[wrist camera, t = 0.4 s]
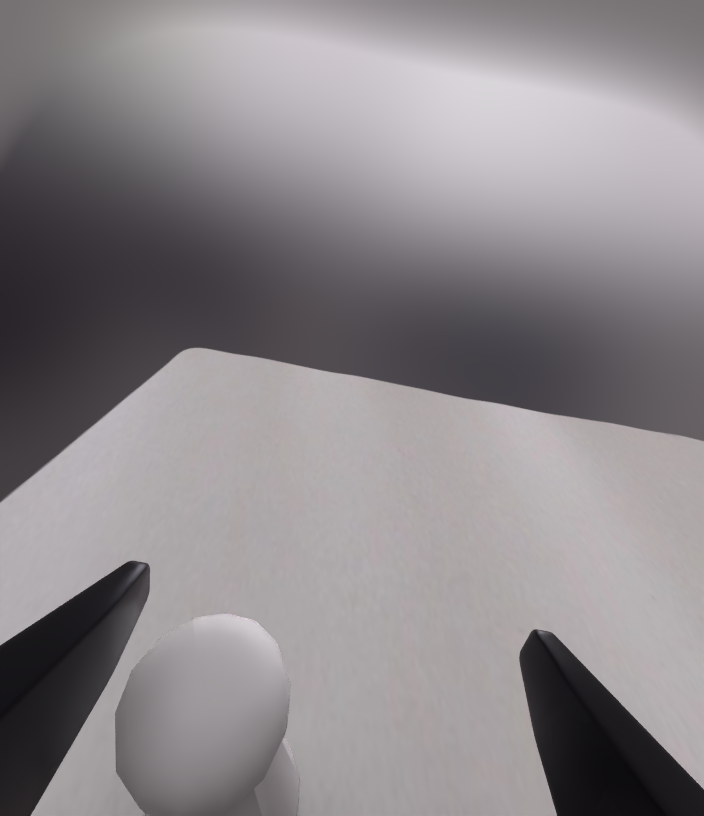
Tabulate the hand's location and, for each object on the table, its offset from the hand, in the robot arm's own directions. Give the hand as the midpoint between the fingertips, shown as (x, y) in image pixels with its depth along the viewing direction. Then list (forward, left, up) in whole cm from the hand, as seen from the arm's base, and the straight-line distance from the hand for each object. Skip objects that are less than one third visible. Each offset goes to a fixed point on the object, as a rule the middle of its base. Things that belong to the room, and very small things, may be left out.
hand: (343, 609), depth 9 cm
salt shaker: (0, +3, -16) cm, 16 cm away
